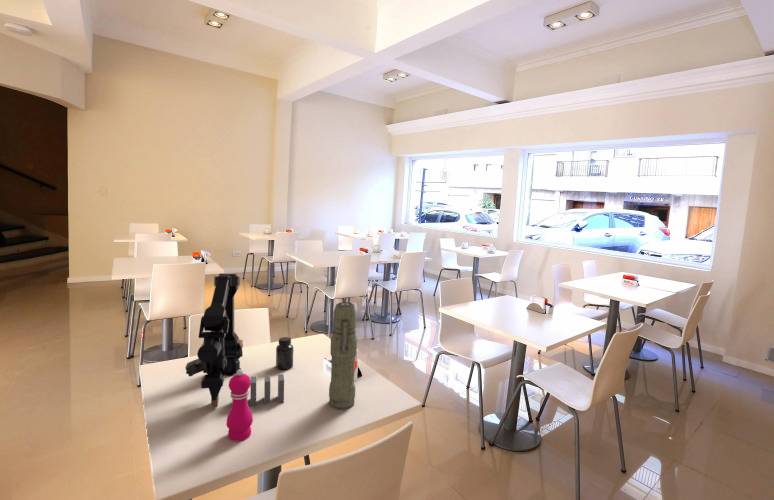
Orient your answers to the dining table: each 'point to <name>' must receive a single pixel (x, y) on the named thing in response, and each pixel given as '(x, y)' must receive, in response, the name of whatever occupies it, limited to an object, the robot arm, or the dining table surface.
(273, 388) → the dining table surface
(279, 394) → the domino
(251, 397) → the domino
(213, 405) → the domino
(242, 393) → the pepper mill
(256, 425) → the dining table surface
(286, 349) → the supplement bottle
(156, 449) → the dining table surface
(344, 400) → the thermos
